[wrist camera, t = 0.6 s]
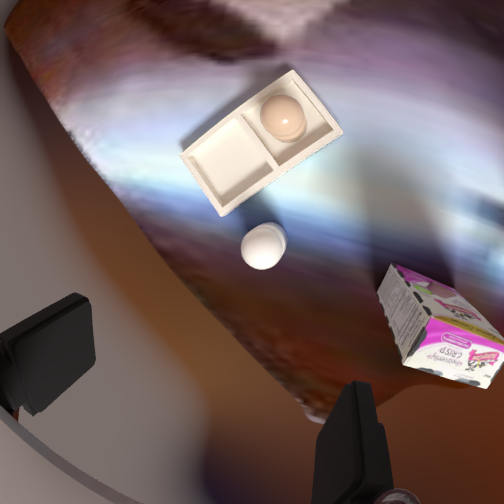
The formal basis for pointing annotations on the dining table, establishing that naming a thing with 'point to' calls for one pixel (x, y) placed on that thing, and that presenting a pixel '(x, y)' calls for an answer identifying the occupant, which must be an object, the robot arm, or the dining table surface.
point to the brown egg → (283, 118)
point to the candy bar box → (439, 328)
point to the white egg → (264, 245)
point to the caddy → (255, 146)
